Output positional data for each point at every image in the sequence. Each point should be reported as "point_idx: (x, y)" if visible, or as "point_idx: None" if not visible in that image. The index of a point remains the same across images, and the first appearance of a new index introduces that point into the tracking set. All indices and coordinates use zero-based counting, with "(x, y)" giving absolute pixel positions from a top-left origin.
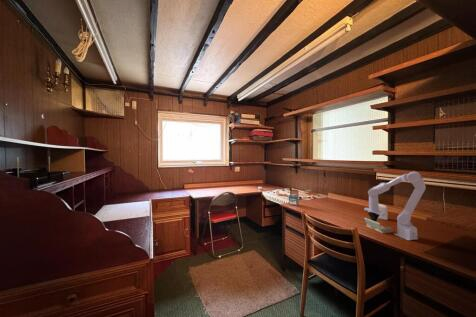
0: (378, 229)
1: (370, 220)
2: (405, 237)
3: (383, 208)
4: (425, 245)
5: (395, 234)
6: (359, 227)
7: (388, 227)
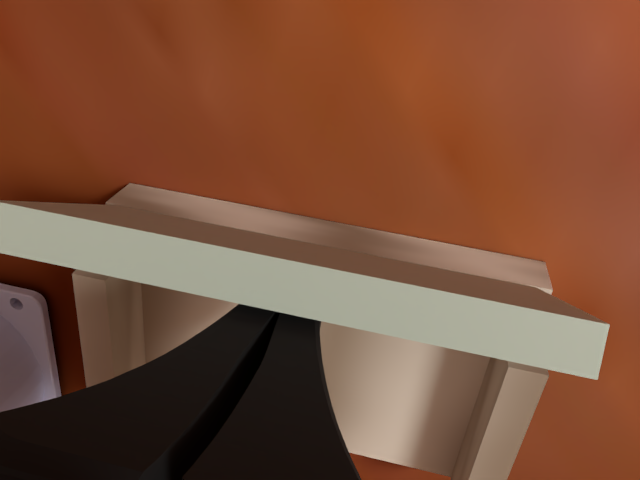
0: (202, 219)
1: (316, 283)
2: None
3: None
4: None
5: (6, 291)
6: (604, 6)
7: (86, 376)
